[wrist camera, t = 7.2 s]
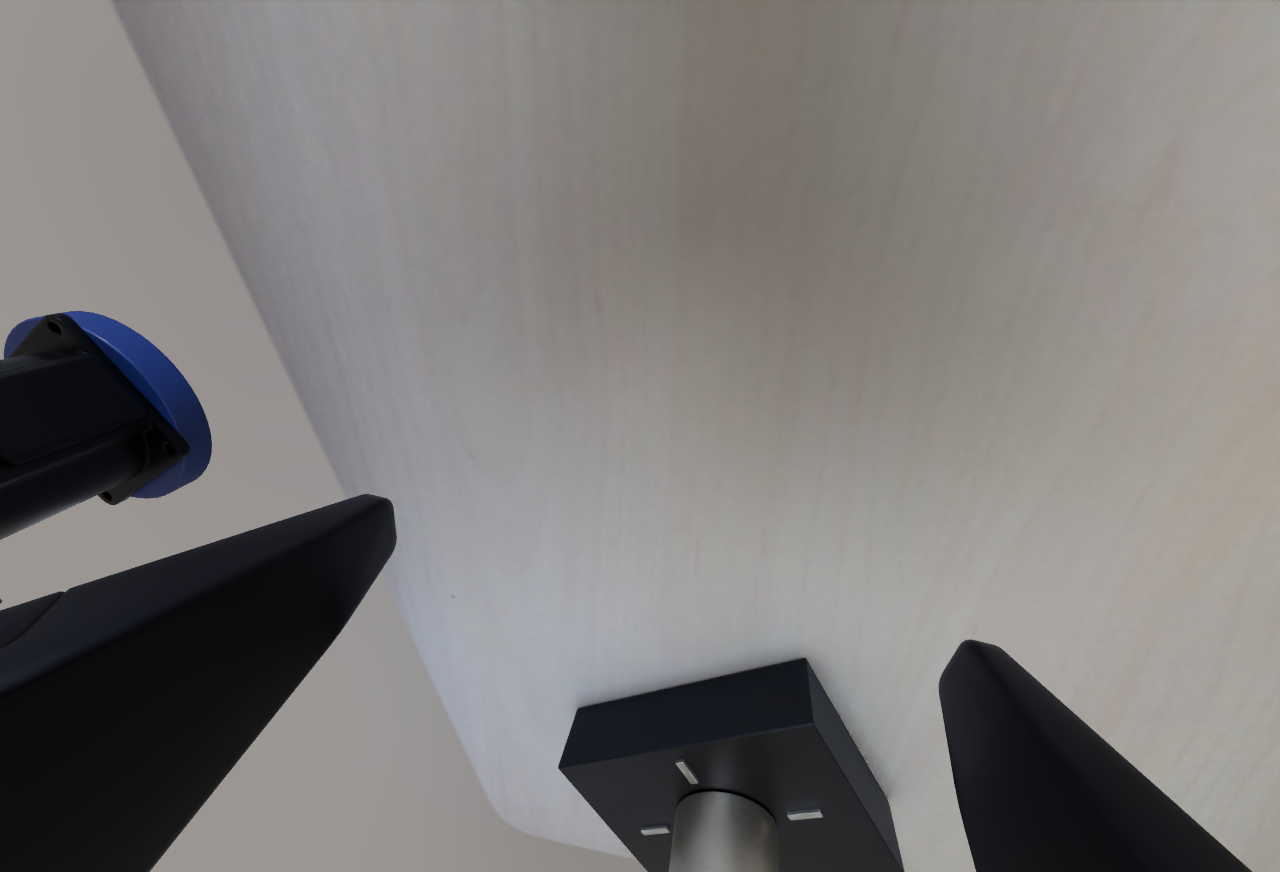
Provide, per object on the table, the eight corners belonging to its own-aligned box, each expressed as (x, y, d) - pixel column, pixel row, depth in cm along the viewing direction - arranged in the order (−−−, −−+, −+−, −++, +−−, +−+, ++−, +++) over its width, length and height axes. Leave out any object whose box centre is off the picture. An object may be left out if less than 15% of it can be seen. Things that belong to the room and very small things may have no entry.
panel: (670, 824, 28) (662, 893, 26) (577, 708, 25) (555, 771, 23) (888, 801, 24) (907, 881, 21) (805, 657, 21) (814, 727, 18)
